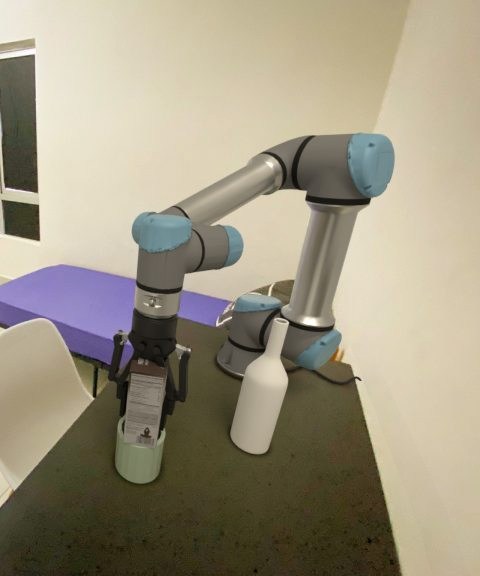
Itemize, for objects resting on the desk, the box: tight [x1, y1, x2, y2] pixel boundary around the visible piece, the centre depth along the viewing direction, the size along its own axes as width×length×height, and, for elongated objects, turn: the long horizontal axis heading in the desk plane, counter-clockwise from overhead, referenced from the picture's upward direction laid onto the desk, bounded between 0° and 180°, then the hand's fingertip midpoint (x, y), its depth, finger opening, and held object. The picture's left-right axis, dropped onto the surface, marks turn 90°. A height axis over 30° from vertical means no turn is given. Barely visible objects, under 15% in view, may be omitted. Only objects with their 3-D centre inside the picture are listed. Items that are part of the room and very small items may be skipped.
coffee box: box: [123, 349, 167, 449], centre depth 62 cm, size 9×6×16 cm
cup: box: [114, 414, 166, 485], centre depth 66 cm, size 9×9×9 cm
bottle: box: [229, 318, 289, 455], centre depth 69 cm, size 8×8×30 cm
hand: (142, 418), depth 64 cm, fingers closed on coffee box, 7 cm apart
